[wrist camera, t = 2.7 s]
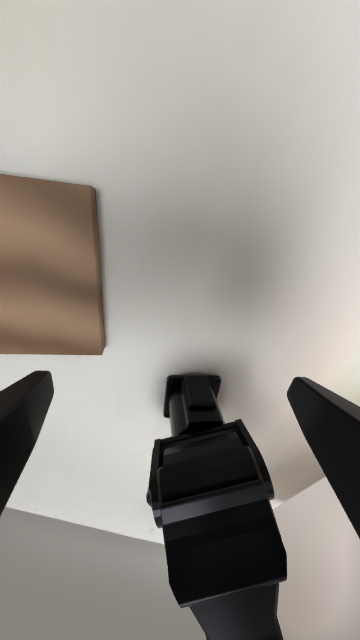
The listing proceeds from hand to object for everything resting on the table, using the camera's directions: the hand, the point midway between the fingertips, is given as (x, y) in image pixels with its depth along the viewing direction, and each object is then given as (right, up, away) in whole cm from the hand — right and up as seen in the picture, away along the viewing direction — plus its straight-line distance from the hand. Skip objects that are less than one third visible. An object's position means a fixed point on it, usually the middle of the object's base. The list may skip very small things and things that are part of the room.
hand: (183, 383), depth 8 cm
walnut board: (-14, +6, +10) cm, 18 cm away
